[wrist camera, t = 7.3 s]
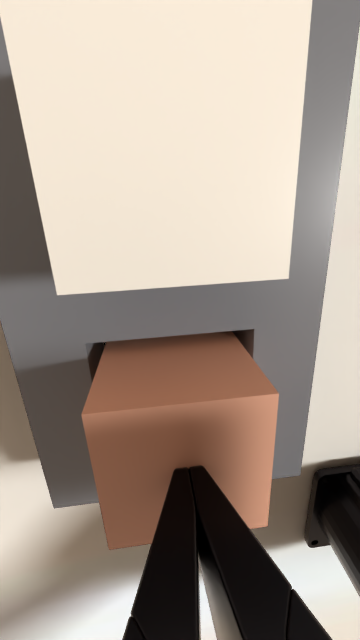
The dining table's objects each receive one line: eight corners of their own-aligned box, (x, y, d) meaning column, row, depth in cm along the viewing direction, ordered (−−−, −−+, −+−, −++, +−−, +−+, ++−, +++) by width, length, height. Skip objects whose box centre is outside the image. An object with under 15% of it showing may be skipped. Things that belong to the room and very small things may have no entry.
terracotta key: (226, 421, 14) (267, 526, 9) (122, 432, 13) (108, 549, 9) (227, 325, 12) (278, 393, 7) (108, 335, 11) (81, 414, 7)
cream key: (228, 253, 11) (288, 278, 6) (97, 261, 10) (57, 294, 6) (229, 99, 9) (314, -28, 5) (74, 100, 9) (-11, -36, 4)
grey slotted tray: (273, 429, 16) (300, 475, 13) (71, 453, 15) (53, 508, 12) (336, -357, 7) (458, -730, 4) (-131, -418, 6) (-359, -943, 3)
